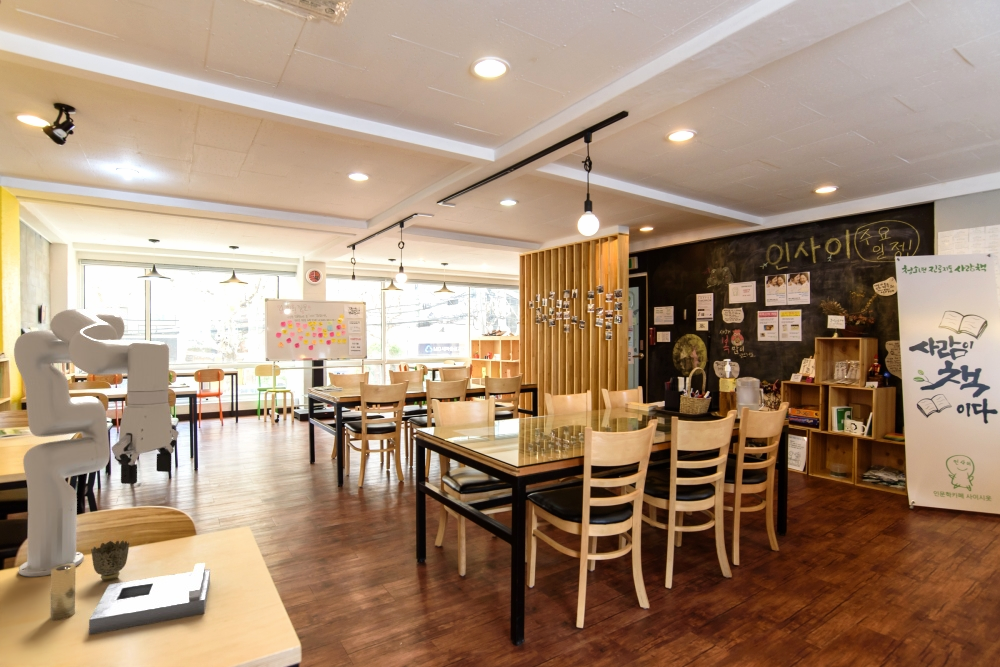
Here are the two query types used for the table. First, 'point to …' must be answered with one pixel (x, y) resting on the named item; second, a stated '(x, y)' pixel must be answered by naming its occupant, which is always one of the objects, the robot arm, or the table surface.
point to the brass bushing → (62, 591)
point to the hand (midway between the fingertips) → (147, 477)
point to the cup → (110, 559)
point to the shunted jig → (151, 600)
